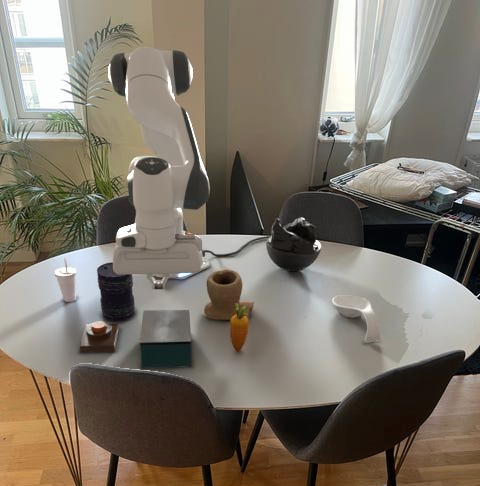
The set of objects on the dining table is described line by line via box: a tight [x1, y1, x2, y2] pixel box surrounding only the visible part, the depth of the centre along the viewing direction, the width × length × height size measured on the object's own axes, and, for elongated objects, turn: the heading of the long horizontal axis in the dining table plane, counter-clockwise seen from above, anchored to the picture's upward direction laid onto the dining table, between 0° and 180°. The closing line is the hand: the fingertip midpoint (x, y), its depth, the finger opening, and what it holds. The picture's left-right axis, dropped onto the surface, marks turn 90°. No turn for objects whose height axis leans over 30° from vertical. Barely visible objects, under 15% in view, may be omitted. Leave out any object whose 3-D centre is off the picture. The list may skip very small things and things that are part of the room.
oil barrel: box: [96, 261, 136, 323], centre depth 138 cm, size 10×10×15 cm
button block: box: [78, 322, 120, 354], centre depth 128 cm, size 11×9×4 cm
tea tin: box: [139, 343, 192, 369], centre depth 125 cm, size 15×13×8 cm
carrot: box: [229, 303, 250, 354], centre depth 124 cm, size 5×5×15 cm
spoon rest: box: [331, 294, 382, 344], centre depth 143 cm, size 24×12×7 cm, turn 12°
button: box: [91, 320, 106, 333], centre depth 127 cm, size 4×4×2 cm
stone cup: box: [203, 269, 255, 321], centre depth 140 cm, size 15×12×15 cm
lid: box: [139, 309, 192, 346], centre depth 122 cm, size 15×13×1 cm
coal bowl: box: [265, 216, 322, 272], centre depth 171 cm, size 20×20×19 cm
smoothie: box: [54, 258, 78, 303], centre depth 144 cm, size 6×6×14 cm
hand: (158, 288), depth 113 cm, fingers closed
